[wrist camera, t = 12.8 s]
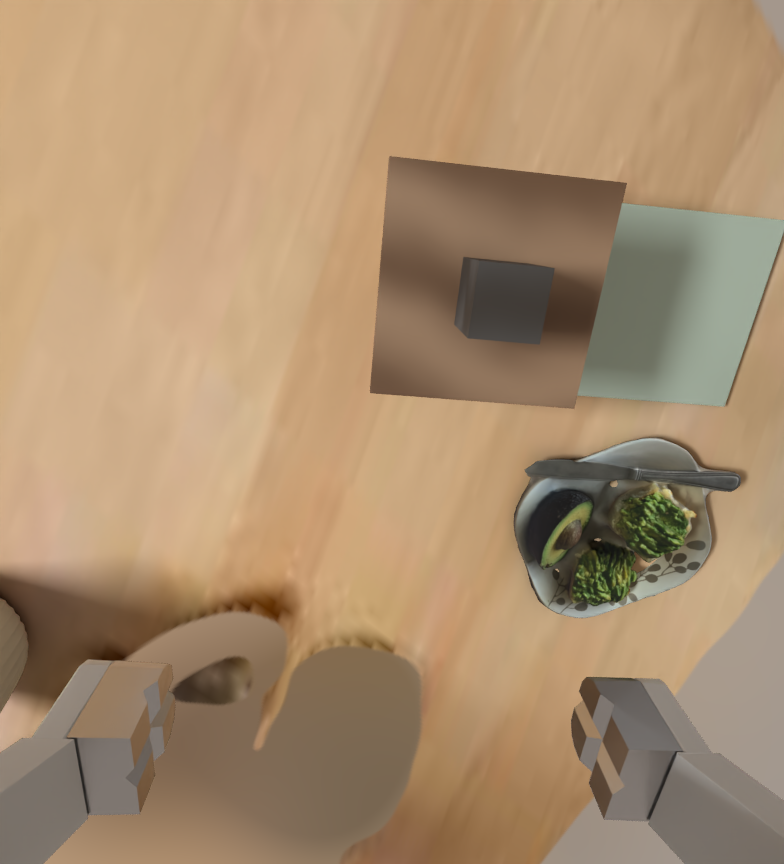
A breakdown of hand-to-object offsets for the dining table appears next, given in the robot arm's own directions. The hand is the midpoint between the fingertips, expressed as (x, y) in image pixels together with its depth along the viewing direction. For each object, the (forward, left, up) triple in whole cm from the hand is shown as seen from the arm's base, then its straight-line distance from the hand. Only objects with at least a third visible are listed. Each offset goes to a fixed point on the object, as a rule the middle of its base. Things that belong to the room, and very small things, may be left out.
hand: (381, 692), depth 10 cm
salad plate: (+14, +22, -32) cm, 41 cm away
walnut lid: (-6, +6, -21) cm, 23 cm away
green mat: (-5, +22, -31) cm, 38 cm away
